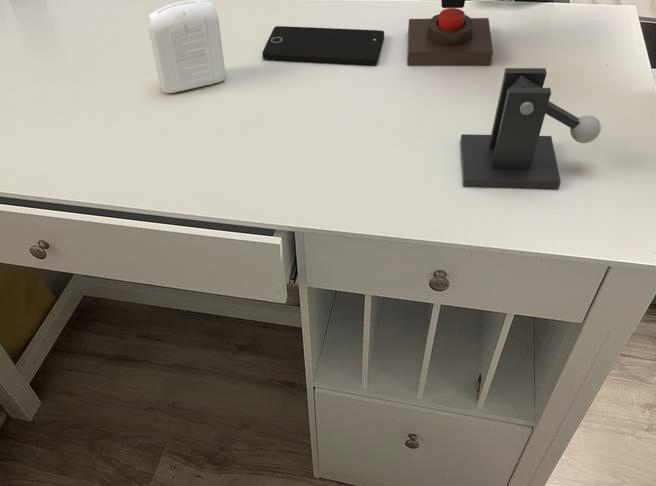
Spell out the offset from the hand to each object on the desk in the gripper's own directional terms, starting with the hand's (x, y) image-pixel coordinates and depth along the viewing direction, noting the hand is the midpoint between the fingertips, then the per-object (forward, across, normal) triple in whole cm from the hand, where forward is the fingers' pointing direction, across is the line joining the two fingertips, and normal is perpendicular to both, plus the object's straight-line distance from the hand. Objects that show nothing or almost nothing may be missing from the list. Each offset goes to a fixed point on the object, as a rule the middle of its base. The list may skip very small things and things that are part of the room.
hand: (452, 5), depth 97 cm
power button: (+3, 0, 0) cm, 3 cm away
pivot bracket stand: (+7, -28, -7) cm, 30 cm away
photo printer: (+7, -10, +38) cm, 40 cm away
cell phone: (+7, 0, +19) cm, 20 cm away
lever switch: (0, -28, -10) cm, 30 cm away
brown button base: (+7, 0, 0) cm, 7 cm away
